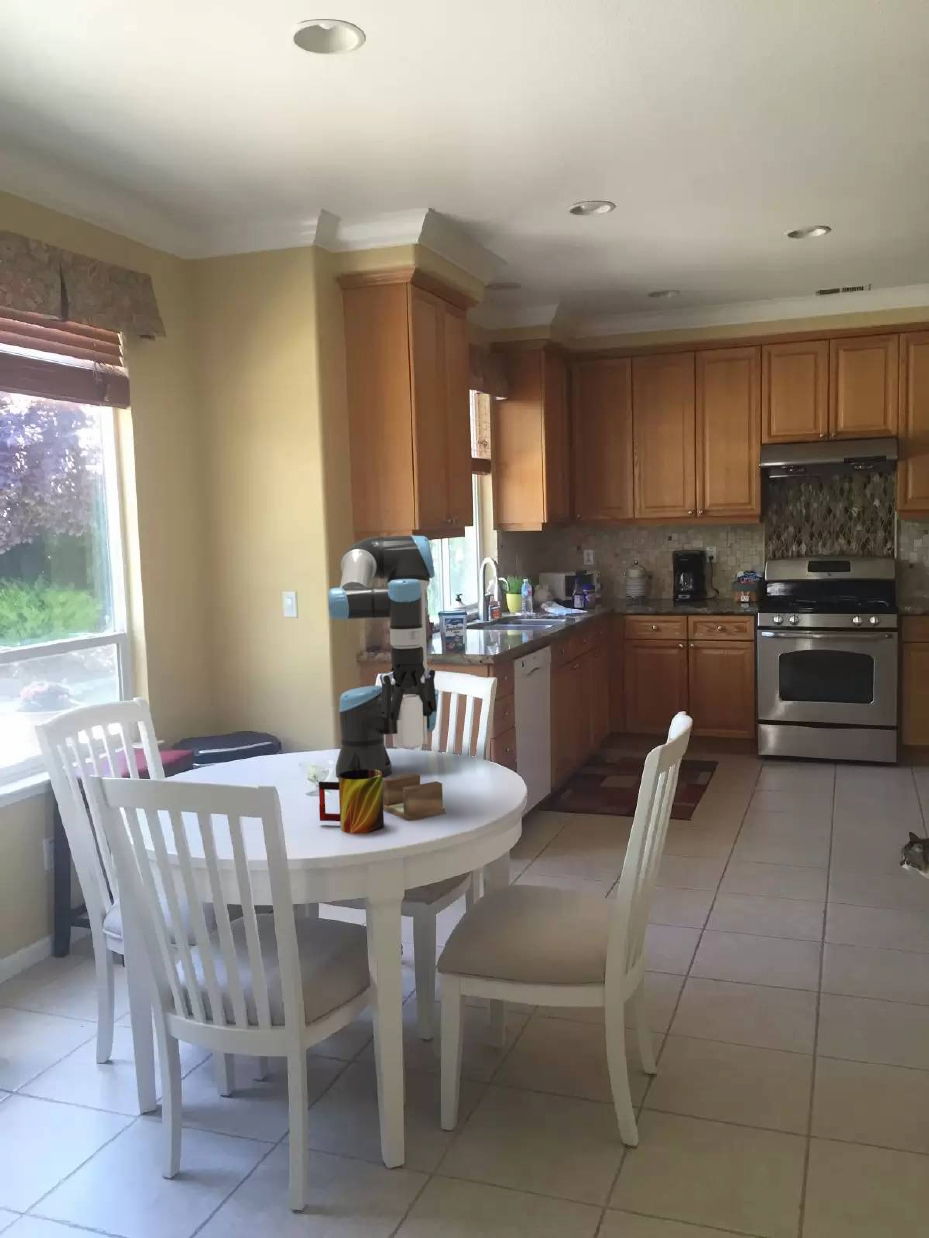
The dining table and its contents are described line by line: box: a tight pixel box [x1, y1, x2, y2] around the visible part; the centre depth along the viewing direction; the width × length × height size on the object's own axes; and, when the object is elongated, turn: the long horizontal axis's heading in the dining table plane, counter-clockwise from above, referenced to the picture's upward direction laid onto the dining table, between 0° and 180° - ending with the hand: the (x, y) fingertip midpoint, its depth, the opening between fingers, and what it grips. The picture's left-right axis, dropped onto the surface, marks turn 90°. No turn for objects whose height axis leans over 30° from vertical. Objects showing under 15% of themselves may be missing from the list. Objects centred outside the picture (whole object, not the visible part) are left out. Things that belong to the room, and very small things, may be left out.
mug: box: [318, 769, 385, 835], centre depth 226 cm, size 10×14×12 cm
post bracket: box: [382, 773, 446, 821], centre depth 239 cm, size 13×10×7 cm
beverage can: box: [397, 694, 424, 750], centre depth 237 cm, size 6×6×12 cm
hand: (410, 744), depth 238 cm, fingers closed on beverage can, 6 cm apart
